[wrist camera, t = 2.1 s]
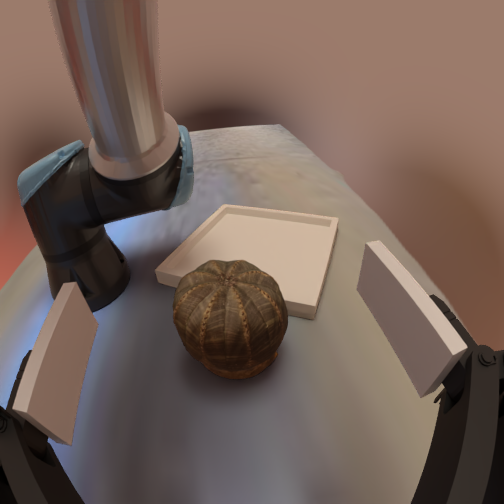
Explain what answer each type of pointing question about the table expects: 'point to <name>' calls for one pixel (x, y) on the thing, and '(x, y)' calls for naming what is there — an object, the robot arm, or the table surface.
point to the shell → (230, 317)
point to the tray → (262, 250)
